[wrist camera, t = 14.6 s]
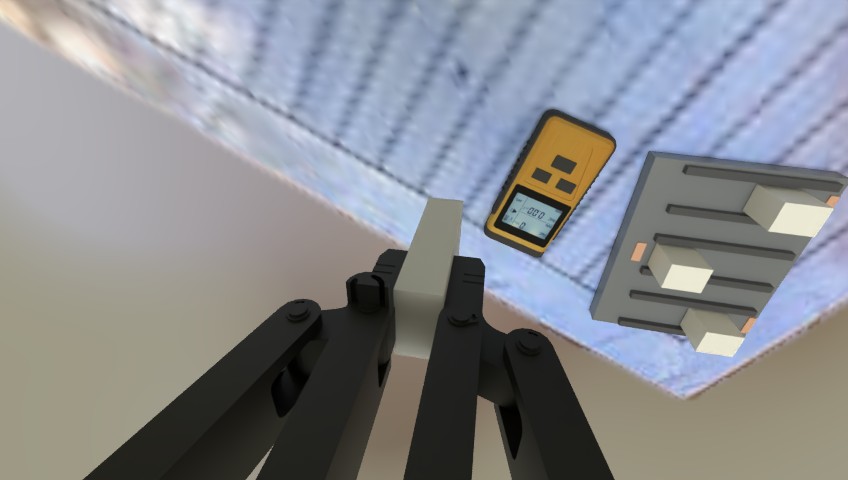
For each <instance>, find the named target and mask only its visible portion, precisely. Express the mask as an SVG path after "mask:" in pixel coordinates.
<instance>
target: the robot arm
mask: <svg viewBox="0 0 848 480" xmlns="http://www.w3.org/2000/svg"><path fill="white" fill-rule="evenodd" d="M462 210H463V201H461V200H450V199H440V198H430V197H429V199H428V202H427V205H426V207H425V210H424V212H423V215H422V217H421V220H420V222H419V225H418V228H417V230H416V233H415V235H414V238H413V240H412V243H411V245H410V248H409V251H404V250H395V249H388V250H387V251H386V252H384V253H382V254H381V255H380V256H379V258H378V261H377V262H376V265H375V267H374V268H373V271H372V272H363V273H358V274H356V275H354V276H352V277H350V278H349V279H348V280H347V281H346V288H347V297H348V304H347V306H346V307H343V308H339V309H331V310H321V308H320V306H319V305H318V303H316V302H314V301H312V300H308V299H298V300H294V301H291V302H288V303H286V304H285V305H283V306H282V307H280V308H279V309H278V310H277V311H276V312H275V313H273V314H272V315H271V316H270V317H269V318H268V319H267V320H265V321H264V322H263V323H262V324H261V325H260V326H259V327H257V328H256V329H255V330H254V331H253V332H252V333H250V334H249V335H248V336H247V337H246V338H245V339H244V340H242V341H241V342H240V343H239V344H238V345H237V346H236V347H234V348H233V349H232V350H231V351H230V352H229V353H228V354H226V355H225V356H224V357H223V358H222V359H221V360H219V361H218V362H217V363H216V364H215V365H214V366H213V367H212V368H210V369H209V370H208V371H207V372H206V373H205V374H203V375H202V376H201V377H200V378H199V379H198V380H197V381H195V382H194V383H193V384H192V385H191V386H190V387H189V388H187V389H186V390H185V391H184V392H183V393H182V394H180V395H179V396H178V397H177V398H176V399H175V400H174V401H172V402H171V403H170V404H169V405H168V406H167V407H166V408H165V409H164V410H162V411H161V412H160V413H159V414H158V415H156V416H155V417H154V418H153V419H152V420H151V421H150V422H148V423H147V424H146V425H145V426H144V427H143V428H142V429H140V430H139V431H138V432H137V433H136V434H135V435H133V436H132V437H131V438H130V439H129V440H128V441H127V442H125V443H124V444H123V445H122V446H121V447H120V448H118V449H117V450H116V451H115V452H114V453H113V454H112V455H111V456H109V457H108V458H107V459H106V460H105V461H104V462H102V463H101V464H100V465H99V466H98V467H97V468H96V469H94V470H93V471H92V472H91V473H90V474H89V475H88V476H86V477H85V478H84V479H83V480H246V479H247V477H248V476H249V475H250V474H251V472H252V471H253V470H254V469H255V467H256V466H257V465H258V464H259V462H260V461H261V460H262V459H263V457H264V456H265V455H266V454H267V452H268V451H269V450H270V449H271V447H272V446H273V445H274V446H273V448H272V450H271V451H270V454H269V456H268V457H267V459H266V461H265V463H264V465H263V467H262V469H261V471H260V473H259V474H258V476H257V478H256V480H356V479H357V475H358V472H359V469H360V465H361V462H362V459H363V456H364V453H365V449H366V446H367V443H368V440H369V436H370V433H371V430H372V427H373V423H374V420H375V417H376V414H377V410H378V407H379V404H380V401H381V398H382V394H383V391H384V388H385V384H386V381H387V378H388V375H389V372H390V368H391V354H392V350H393V347H394V344H395V354H397V355H404V356H410V357H417V358H424V359H429V362H428V367H427V372H426V376H425V381H424V386H423V390H422V395H421V400H420V404H419V409H418V414H417V418H416V423H415V428H414V432H413V437H412V442H411V446H410V451H409V455H408V461H407V465H406V469H405V474H404V479H403V480H471V479H472V464H473V449H474V436H475V421H476V407H477V395H479V396H481V397H483V398H485V399H487V400H489V401H491V402H493V403H494V408H495V412H496V416H497V420H498V424H499V428H500V432H501V437H502V440H503V444H504V449H505V453H506V456H507V461H508V465H509V469H510V473H511V477H512V480H615V479H614V478H613V475H612V473H611V471H610V469H609V467H608V464H607V462H606V460H605V458H604V456H603V453H602V451H601V449H600V447H599V445H598V443H597V441H596V439H595V436H594V434H593V432H592V430H591V428H590V426H589V424H588V421H587V419H586V417H585V415H584V413H583V410H582V408H581V406H580V404H579V402H578V399H577V397H576V395H575V393H574V391H573V389H572V386H571V384H570V382H569V380H568V378H567V376H566V373H565V371H564V369H563V367H562V365H561V363H560V361H559V358H558V356H557V354H556V352H555V350H554V347H553V345H552V344H551V342H550V341H549V340H548V338H547V337H545V336H544V335H543V334H541V333H540V332H537V331H534V330H532V329H524V328H521V329H516V330H513V331H511V332H510V333H508V334H505V333H503V332H500V331H498V330H496V329H494V328H493V327H491V326H490V325H489V324H488V323H487V322H486V321H485V319H484V317H483V313H482V307H483V293H484V279H485V266H484V264H483V262H482V261H481V259H480V258H472V257H463V256H458V255H459V245H460V233H461V222H462Z"/></svg>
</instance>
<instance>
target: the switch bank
mask: <svg viewBox="0 0 848 480" xmlns="http://www.w3.org/2000/svg"><path fill="white" fill-rule="evenodd" d="M757 184H762V185H770V186H779V187H787V188H796V189H801V190H803V191H805V192H807V193H808V194H810V195H812V196H814V197H815V198H817V199H819V200H820V201H822V202H824V203H826V204H827V205H829V206H831V207H834V206H835V204H836V203H837V201H838V200H839V198H840V196H841V194H842V193H843V191H844V190H845V188H846V187H847V185H848V177H846V176H844V175H841V174H839V173H837V172H831V171H822V170H813V169H804V168H795V167H786V166H777V165H768V164H759V163H750V162H741V161H732V160H723V159H715V158H706V157H697V156H688V155H679V154H670V153H661V152H652V151H649V153H648V156H647V158H646V161H645V164H644V166H643V169H642V172H641V174H640V177H639V180H638V182H637V185H636V188H635V190H634V193H633V196H632V198H631V201H630V203H629V206H628V209H627V211H626V214H625V217H624V219H623V222H622V225H621V227H620V230H619V233H618V235H617V238H616V241H615V243H614V246H613V249H612V251H611V254H610V256H609V259H608V262H607V264H606V267H605V270H604V272H603V275H602V278H601V280H600V283H599V286H598V288H597V291H596V294H595V296H594V299H593V302H592V304H591V307H590V309H589V310H590V313H591V316H592V320H598V321H604V322H610V323H617V324H619V325H620V326H626V327H632V328H639V329H645V330H651V331H657V332H664V333H670V334H676V335H683V336H686V334H685V333H684V331H683V329H682V327H681V326H680V323H681V321H682V320H683V318H684V316H685V314H686V312H687V310H688V309H689V307H690V308H696V309H703V310H709V311H716V312H723V313H726V314H727V315H728V316H729V318H730V319H731V320H732V321H733V323H734V324H735V325H736V327H737V328H738V329H739V331H740V332H741V333H742V335H743V336H744V337H745V335H746V334H747V333H748V332H749V330H750V329H751V327H752V326H753V324H754V323H755V321H756V320H757V317H758V316H759V315H760V313H761V312H762V310H763V309H764V307H765V306H766V304H767V303H768V301H769V300H770V298H771V297H772V295H773V294H774V293H775V291H776V290H777V288H778V287H779V285H780V284H781V282H782V281H783V279H784V278H785V276H786V275H787V273H788V272H789V271H790V269H791V268H792V266H793V265H794V263H795V262H796V260H797V259H798V257H799V256H800V254H801V253H802V251H803V250H804V248H805V247H806V246H807V244H808V243H809V241H810V240H811V238H812V237H808V236H800V235H793V234H785V233H777V232H769V231H767V230H766V229H765V228H763V227H762V226H761V225H760V224H758V223H757V222H756V221H755V220H753V219H752V218H751V217H750V216H748V215H747V214H746V213H745V212H743V209H744V207H745V205H746V203H747V201H748V200H749V198H750V196H751V194H752V192H753V191H754V189H755V187H756V185H757ZM656 243H662V244H669V245H677V246H684V247H691V248H695V249H696V250H697V251H698V252H699V253H700V255H701V256H702V257H703V258H704V259H705V261H706V262H707V263H708V264H709V265H710V266H711V268H712V269H713V270H714V271H713V272H712V274H711V276H710V278H709V280H708V281H707V283H706V285H705V287H704V289H703V290H702V292H701V293H695V292H688V291H682V290H675V289H668V288H661V286H660V285H659V283H658V281H657V280H656V278H655V276H654V275H653V273H652V271H651V270H650V268H649V266H648V265H647V264H648V261H649V259H650V257H651V255H652V252H653V250H654V248H655V246H656Z"/></svg>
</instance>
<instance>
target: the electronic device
mask: <svg viewBox="0 0 848 480" xmlns="http://www.w3.org/2000/svg"><path fill="white" fill-rule="evenodd" d="M523 149H524V151H523V153H521V154H520V159H517V164H516V165H514V170H512V171H511V175H510V176H508V181H506V182H505V186H504V187H502V192H501V194H500V195H499V197H498V199H497V201H496V203H495V205H494V206H493V208H492V213H491V215H490V217H489V219H488V220H487V222H486V224H485V226H484V233H485V235H486V236H488V237H489V238H491V239H493V240H496V241H498V242H501V243H503V244H505V245H508V246H510V247H512V248H515V249H517V250H519V251H522V252H524V253H526V254H529V255H531V256H533V257H537V258H538V257H541V256H542V255H543V253H544V251H545V250H546V248H547V247H548V245H549V244H550V242H551V241H552V240H554V239H555V238H556V236H557V235H558V233H559V232H560V231H561V229H562V228H563V226H564V225H565V223H566V222H567V220H569V217H570V216H571V215H572V213H573V211H574V210H576V207H577V206H578V205H579V204H580V201H581V200H582V199H583V197H584V195H585V194H587V191H588V190H589V188H591V185H592V184H593V183H594V182H595V179H596V178H597V177H598V176H599V173H600V172H601V171H602V169H603V168H604V166H605V165H606V163H607V162H608V160H609V159H610V157H611V156H612V154H613V153H614V151H615V149H616V140H615V139H614V138H613V137H612V136H611V135H610V134H609V133H607V132H605V131H602V130H600V129H598V128H596V127H594V126H591V125H589V124H587V123H585V122H582V121H580V120H578V119H576V118H573V117H571V116H569V115H567V114H564V113H562V112H560V111H558V110H550V111H547V112H546V113H545V114H544V115H543V117H542V118H541V120H540V122H539V124H538V126H537V128H536V129H535V131H534V133H533V135H532V137H531V139H530V140H529V141H527V146H526V147H524V148H523Z"/></svg>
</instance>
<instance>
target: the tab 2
mask: <svg viewBox="0 0 848 480" xmlns="http://www.w3.org/2000/svg"><path fill="white" fill-rule="evenodd" d="M680 326H681V327H682V329H683V331H684V333H685V334H686V336H687V338H688V339H689V341H690V343H691V345H692V346H693V348H694V350H695V351H697V352H704V353H710V354H716V355H722V356H728V357H733V355H734V354H735V353H736V351H737V350H738V348H739V347H740V345H741V344H742V342H743V341H744V339H745V337H744V336H743V335H742V333H741V332H740V331H739V329H738V328H737V327H736V325H735V324H734V323H733V321H732V320H731V319H730V318H729V316H728V315H727V314H726V313H723V312H716V311H709V310H703V309H696V308H690V307H689V309H688V310H687V312H686V314H685V316H684V318H683V320H682V321H681V323H680Z"/></svg>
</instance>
